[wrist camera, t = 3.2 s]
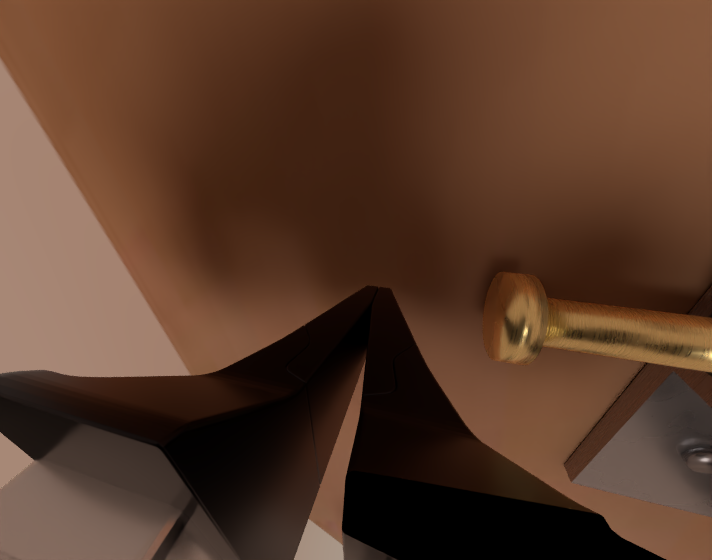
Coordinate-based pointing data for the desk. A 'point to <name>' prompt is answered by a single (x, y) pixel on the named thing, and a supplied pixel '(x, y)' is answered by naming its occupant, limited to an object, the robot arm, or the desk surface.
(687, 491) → the hinge leaves
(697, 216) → the desk surface
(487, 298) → the pin
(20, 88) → the desk surface
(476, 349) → the desk surface
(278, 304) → the desk surface
